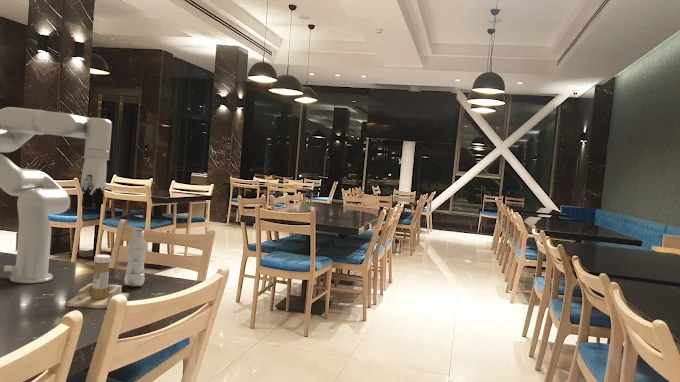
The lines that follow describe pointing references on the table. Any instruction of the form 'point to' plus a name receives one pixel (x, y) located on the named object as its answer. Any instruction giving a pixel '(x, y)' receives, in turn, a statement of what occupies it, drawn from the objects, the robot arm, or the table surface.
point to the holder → (86, 301)
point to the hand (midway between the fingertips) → (92, 205)
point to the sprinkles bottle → (100, 276)
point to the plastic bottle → (136, 259)
